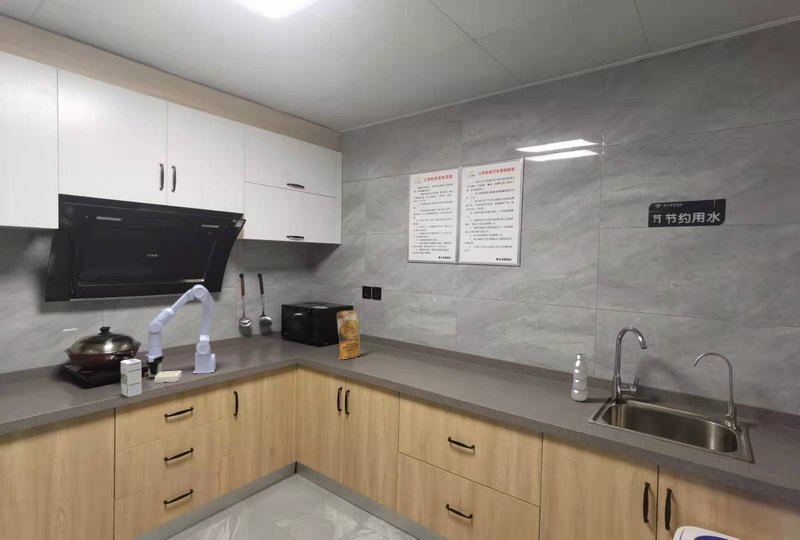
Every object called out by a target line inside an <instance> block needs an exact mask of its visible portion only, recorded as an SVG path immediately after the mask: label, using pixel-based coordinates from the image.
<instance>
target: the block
mask: <svg viewBox="0 0 800 540" xmlns="http://www.w3.org/2000/svg"><path fill="white" fill-rule="evenodd" d="M162 367H163V366H162V362H161V363H159V364H158V368H157V373H156V375H157V374H158V373H159V372H163V371H162V369H163V368H162ZM156 375H151V373H150V369H149V368H148V375H147V376H148V377H156Z"/></svg>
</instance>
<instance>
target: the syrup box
mask: <svg viewBox="0 0 800 540" xmlns="http://www.w3.org/2000/svg"><path fill="white" fill-rule="evenodd" d="M142 381H143V380H142V360H140V359H138V358H129V359H125V360H121V361H120V395H121V394H122V396H123V395H124V396H123V397H125V398H130V397H134V396H139V395H142V393H143V391H142V385H143V384H142Z"/></svg>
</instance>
